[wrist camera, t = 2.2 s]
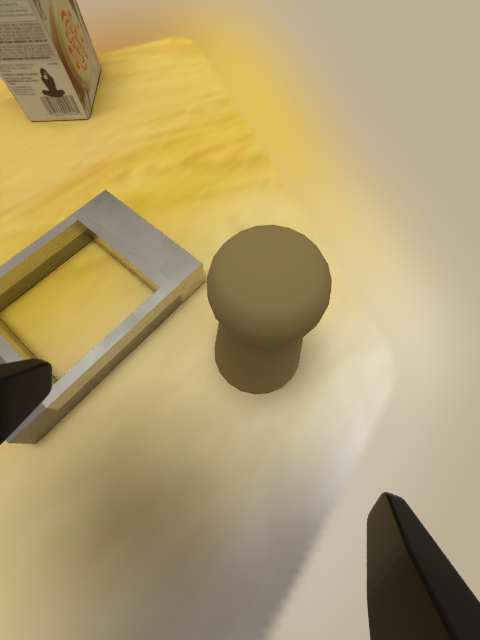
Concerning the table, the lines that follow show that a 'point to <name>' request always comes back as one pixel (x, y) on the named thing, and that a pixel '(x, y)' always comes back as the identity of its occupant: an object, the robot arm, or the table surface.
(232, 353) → the cork
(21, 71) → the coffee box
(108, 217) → the silver metal frame
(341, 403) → the table surface
